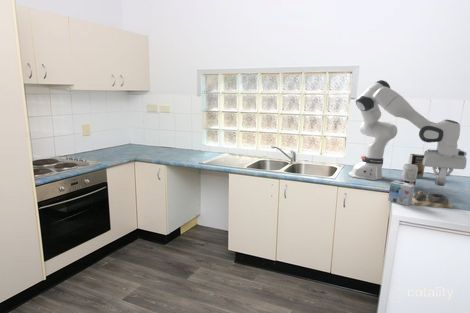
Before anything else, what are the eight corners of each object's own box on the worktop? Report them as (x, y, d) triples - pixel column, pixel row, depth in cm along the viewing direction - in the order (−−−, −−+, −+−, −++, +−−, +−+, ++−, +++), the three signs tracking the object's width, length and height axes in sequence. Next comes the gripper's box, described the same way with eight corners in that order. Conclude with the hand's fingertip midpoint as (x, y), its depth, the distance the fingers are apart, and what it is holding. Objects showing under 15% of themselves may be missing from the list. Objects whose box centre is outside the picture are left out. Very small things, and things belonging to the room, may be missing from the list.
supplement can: (397, 186, 205) (400, 163, 201) (406, 185, 207) (410, 163, 204) (407, 190, 197) (411, 167, 194) (417, 189, 200) (421, 166, 197)
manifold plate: (415, 205, 173) (417, 194, 171) (407, 197, 184) (409, 187, 183) (451, 208, 170) (453, 197, 168) (441, 200, 181) (443, 190, 180)
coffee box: (409, 177, 227) (412, 155, 224) (406, 174, 233) (409, 153, 230) (423, 178, 226) (426, 156, 222) (419, 176, 232) (423, 154, 228)
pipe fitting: (437, 185, 172) (440, 167, 170) (433, 183, 176) (436, 165, 174) (445, 186, 171) (449, 168, 169) (442, 184, 175) (445, 166, 173)
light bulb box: (387, 200, 178) (390, 182, 176) (392, 197, 183) (394, 179, 180) (408, 206, 171) (411, 187, 168) (412, 203, 175) (415, 184, 173)
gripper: (427, 150, 168) (422, 175, 171) (470, 153, 165) (464, 178, 168) (422, 148, 174) (418, 172, 177) (464, 150, 171) (459, 175, 174)
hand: (441, 175), depth 173 cm, fingers closed on pipe fitting, 4 cm apart
